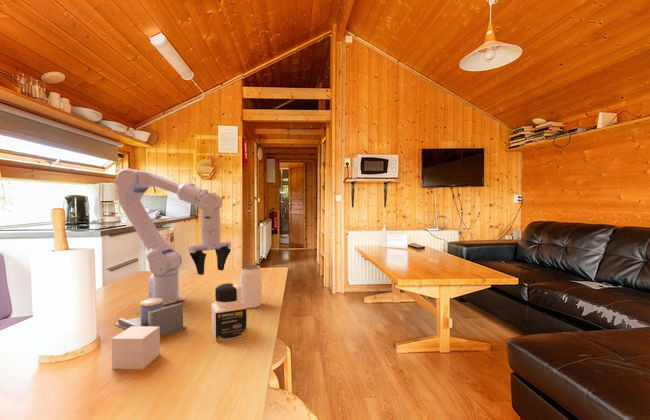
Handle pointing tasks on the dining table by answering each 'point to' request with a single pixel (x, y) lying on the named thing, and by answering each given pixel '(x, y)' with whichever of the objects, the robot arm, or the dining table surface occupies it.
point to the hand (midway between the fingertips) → (211, 272)
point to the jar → (149, 308)
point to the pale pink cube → (135, 347)
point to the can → (251, 286)
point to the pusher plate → (149, 317)
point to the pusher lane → (160, 320)
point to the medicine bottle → (228, 313)
